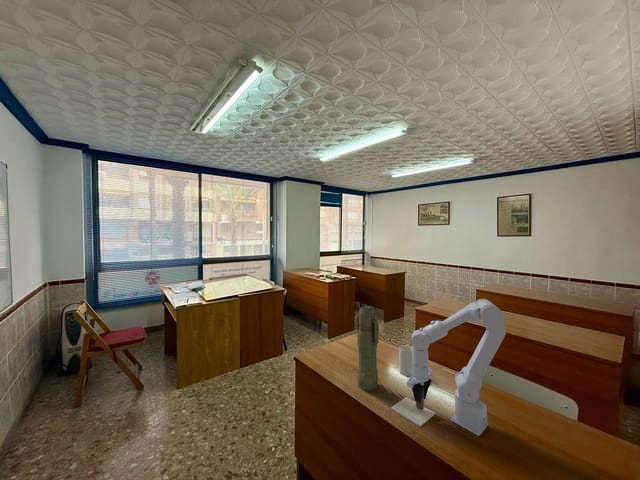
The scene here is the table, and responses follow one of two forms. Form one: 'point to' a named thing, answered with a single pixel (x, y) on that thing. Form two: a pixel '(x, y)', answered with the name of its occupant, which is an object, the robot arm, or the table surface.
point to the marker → (421, 405)
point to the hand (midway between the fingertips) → (420, 399)
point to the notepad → (412, 411)
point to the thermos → (367, 348)
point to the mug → (405, 360)
